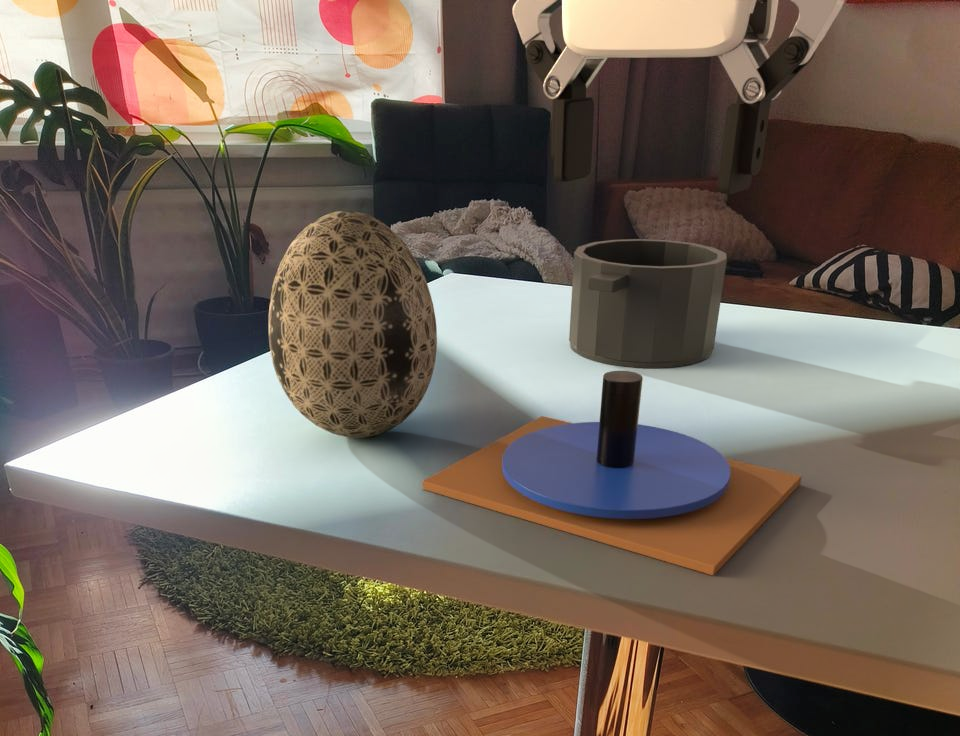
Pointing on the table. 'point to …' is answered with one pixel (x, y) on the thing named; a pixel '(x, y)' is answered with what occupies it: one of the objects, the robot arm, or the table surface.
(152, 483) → the table surface
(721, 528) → the cork mat
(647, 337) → the pot
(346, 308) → the decorative egg
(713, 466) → the blue lid
